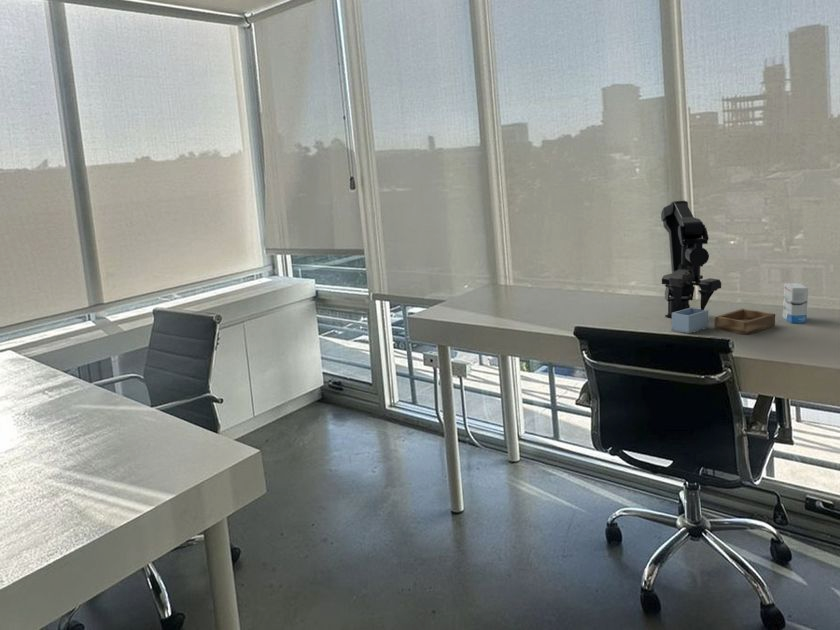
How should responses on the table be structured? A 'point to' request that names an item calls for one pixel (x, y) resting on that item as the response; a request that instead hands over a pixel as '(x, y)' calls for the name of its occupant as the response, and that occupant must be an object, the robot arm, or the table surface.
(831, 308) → the table surface
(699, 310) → the blue crate
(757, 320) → the walnut crate
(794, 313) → the ink box
